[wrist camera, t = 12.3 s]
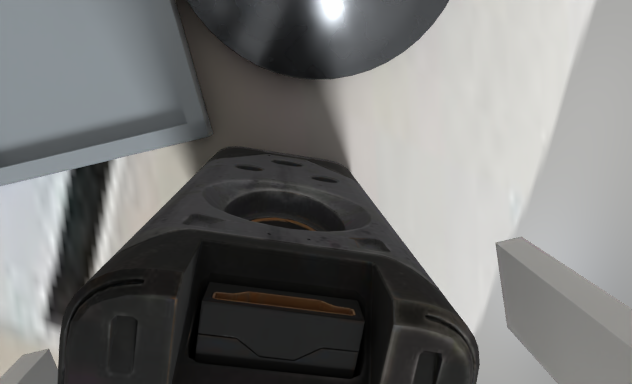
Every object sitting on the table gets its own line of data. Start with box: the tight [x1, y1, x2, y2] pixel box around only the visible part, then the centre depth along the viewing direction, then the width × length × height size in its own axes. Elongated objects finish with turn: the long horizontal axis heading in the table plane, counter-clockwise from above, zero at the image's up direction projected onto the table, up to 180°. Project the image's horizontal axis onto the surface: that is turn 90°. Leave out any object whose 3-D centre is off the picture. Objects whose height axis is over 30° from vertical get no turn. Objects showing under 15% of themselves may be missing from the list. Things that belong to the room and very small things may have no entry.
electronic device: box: [57, 147, 480, 384], centre depth 20 cm, size 9×6×20 cm, turn 80°
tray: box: [0, 0, 213, 186], centre depth 25 cm, size 14×16×2 cm
